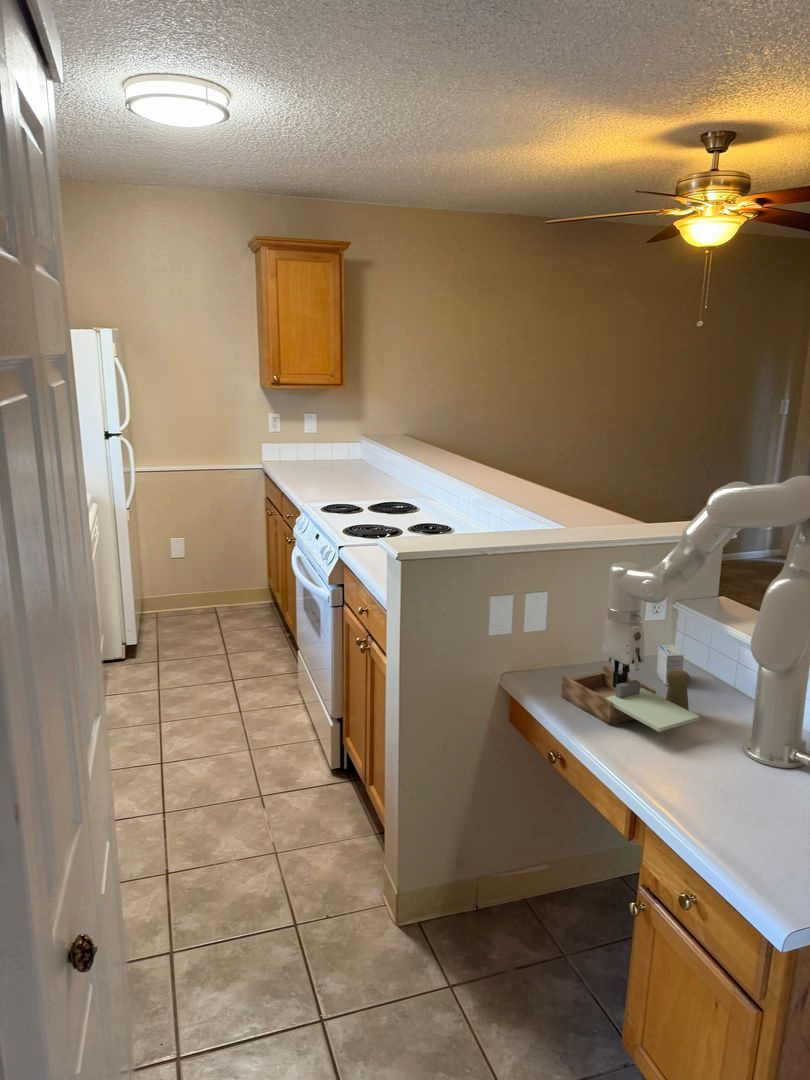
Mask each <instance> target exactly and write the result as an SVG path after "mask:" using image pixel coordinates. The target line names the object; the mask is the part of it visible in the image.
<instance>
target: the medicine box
mask: <svg viewBox="0 0 810 1080" xmlns="http://www.w3.org/2000/svg"><path fill="white" fill-rule="evenodd" d="M656 659H657V661H656V675H657V676H658V677H659V679H660V680H661V681H662V682H663V684H664V685H665V686H669V683H668V682H667V675H668V673H669V672H670V671H671V670H682V671H684V654H683V653H682V652H681V651H680V650H679V649H678V648H677V647H676V646H675V644H659V645H658V646H657V658H656Z"/></svg>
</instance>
